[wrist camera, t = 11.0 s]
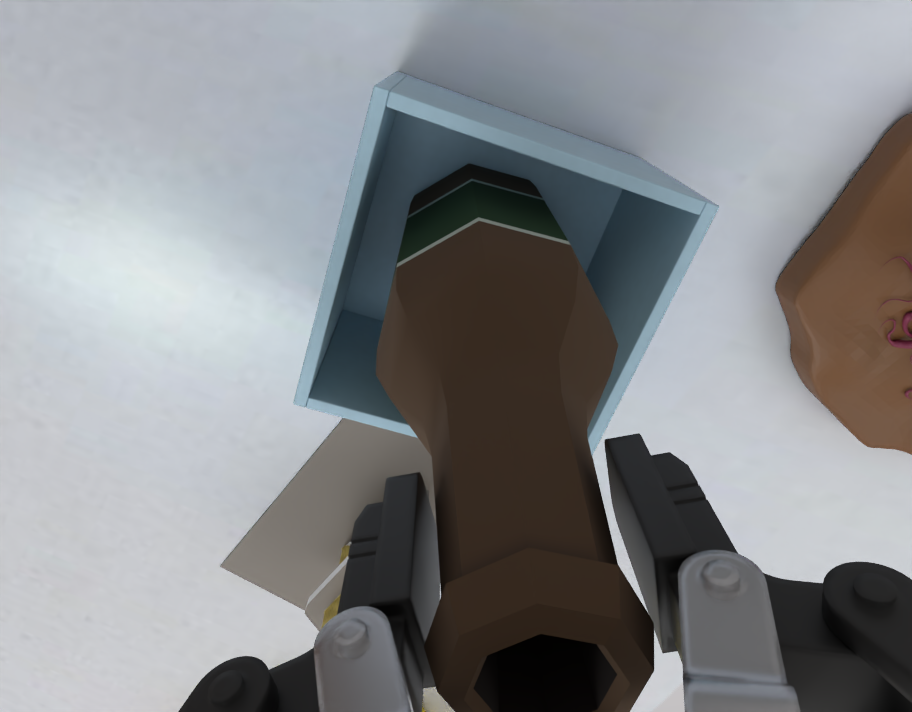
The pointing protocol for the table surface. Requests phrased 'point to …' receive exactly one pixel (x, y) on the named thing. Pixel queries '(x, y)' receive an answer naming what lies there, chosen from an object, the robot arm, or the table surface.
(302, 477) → the platform
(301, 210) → the table surface
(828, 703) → the robot arm
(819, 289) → the plant
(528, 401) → the beer bottle
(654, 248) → the case
